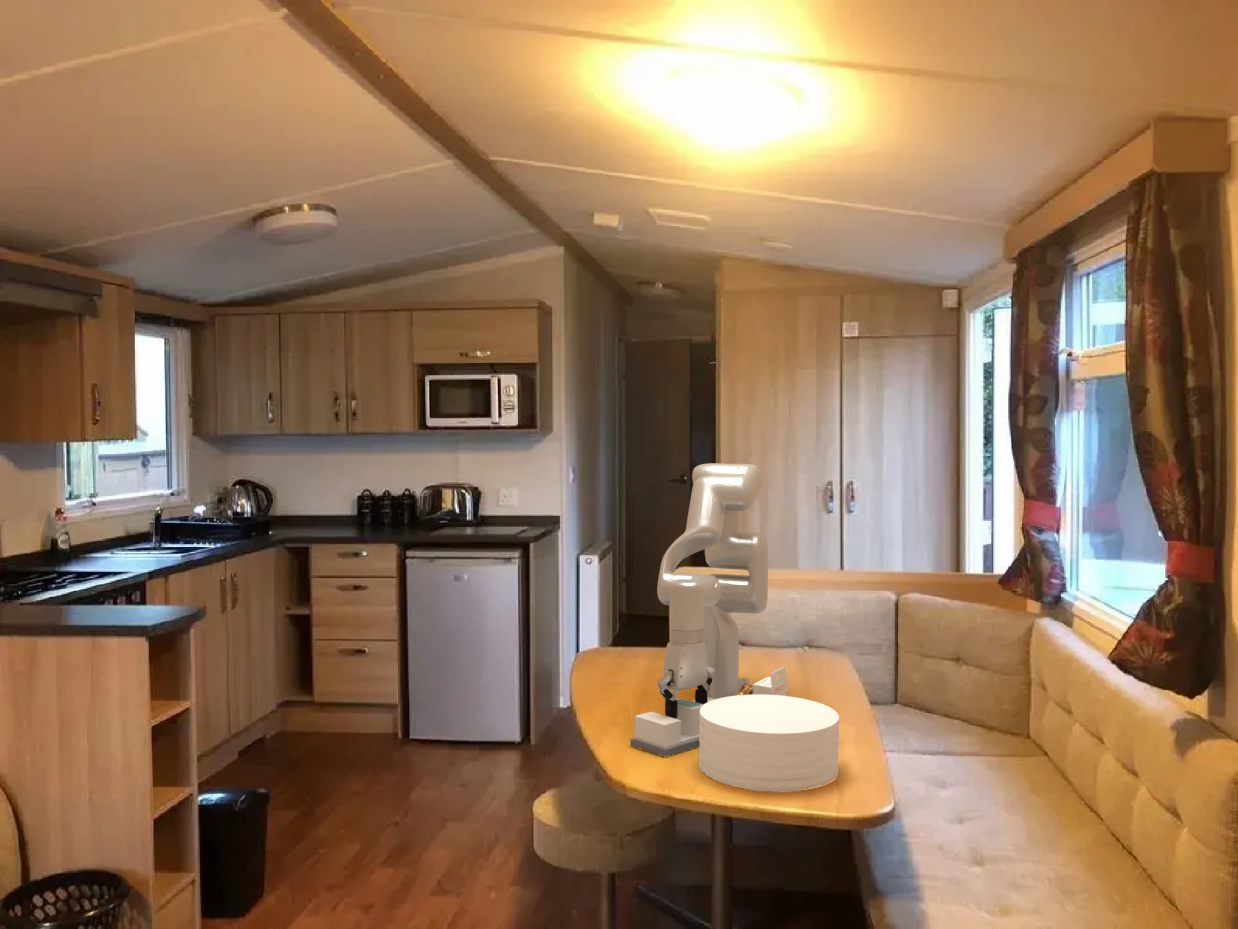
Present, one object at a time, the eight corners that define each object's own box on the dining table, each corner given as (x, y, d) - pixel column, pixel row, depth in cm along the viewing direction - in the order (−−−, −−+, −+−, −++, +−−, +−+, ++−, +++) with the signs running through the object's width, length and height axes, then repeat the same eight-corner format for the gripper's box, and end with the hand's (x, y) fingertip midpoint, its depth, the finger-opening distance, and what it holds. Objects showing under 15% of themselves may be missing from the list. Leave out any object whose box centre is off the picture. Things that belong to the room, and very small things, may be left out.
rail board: (704, 724, 237) (704, 696, 237) (739, 734, 230) (739, 705, 230) (630, 746, 221) (630, 715, 221) (665, 757, 213) (665, 726, 213)
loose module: (680, 724, 230) (680, 697, 230) (706, 732, 224) (706, 704, 224) (665, 728, 227) (666, 700, 227) (692, 736, 221) (692, 708, 221)
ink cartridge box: (766, 726, 236) (767, 663, 236) (786, 729, 234) (787, 665, 233) (751, 735, 229) (751, 670, 228) (771, 739, 226) (772, 673, 226)
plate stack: (721, 740, 226) (722, 689, 226) (849, 756, 215) (850, 703, 215) (680, 780, 200) (680, 723, 200) (823, 801, 189) (823, 740, 189)
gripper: (700, 628, 233) (700, 702, 234) (647, 639, 221) (646, 717, 222) (725, 633, 228) (725, 708, 229) (672, 644, 216) (671, 724, 217)
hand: (686, 712), depth 225 cm, fingers open, 9 cm apart
